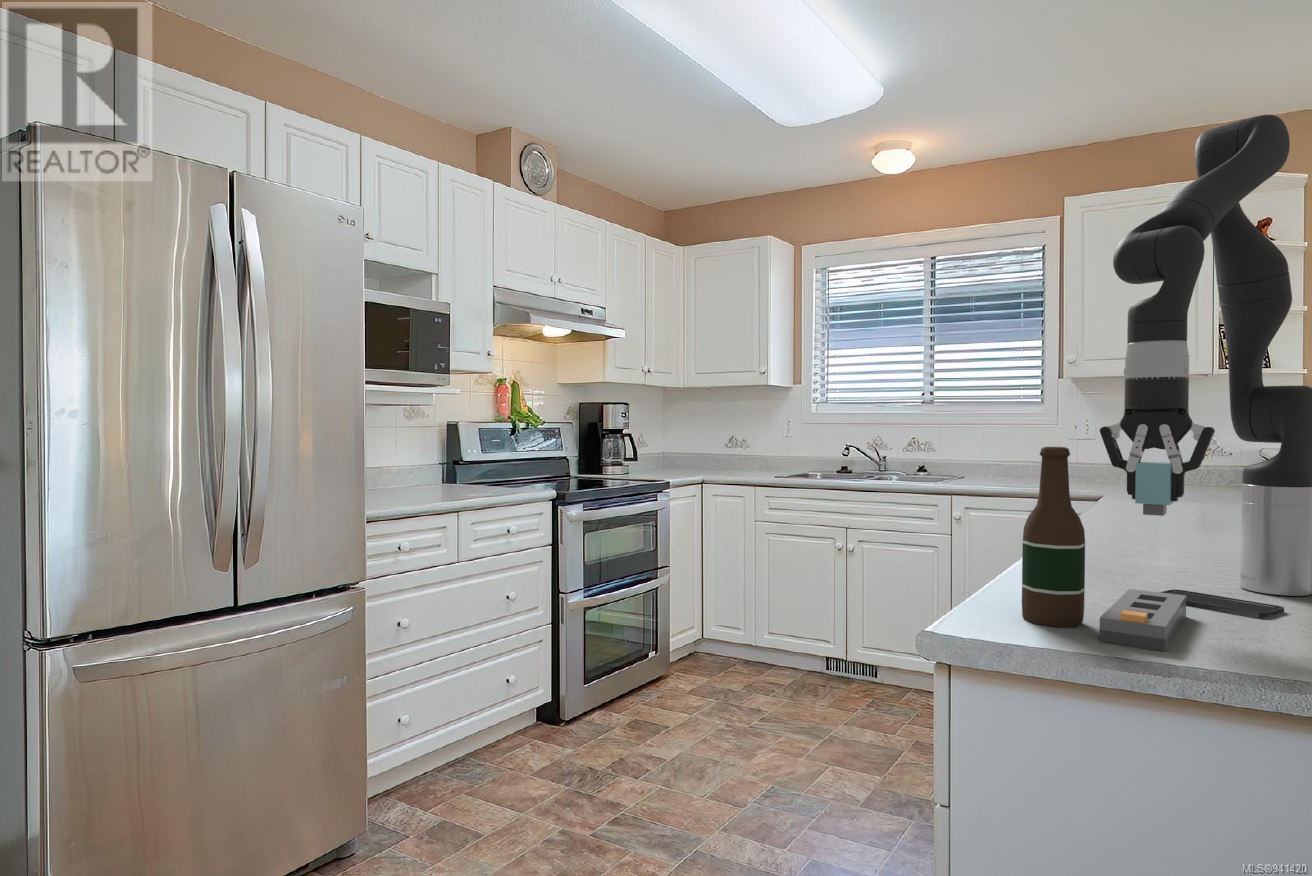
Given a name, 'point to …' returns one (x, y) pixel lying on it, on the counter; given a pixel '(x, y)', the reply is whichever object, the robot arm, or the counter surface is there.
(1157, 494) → the block
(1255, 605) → the phone
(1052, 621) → the beer bottle
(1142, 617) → the power strip
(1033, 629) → the counter surface
